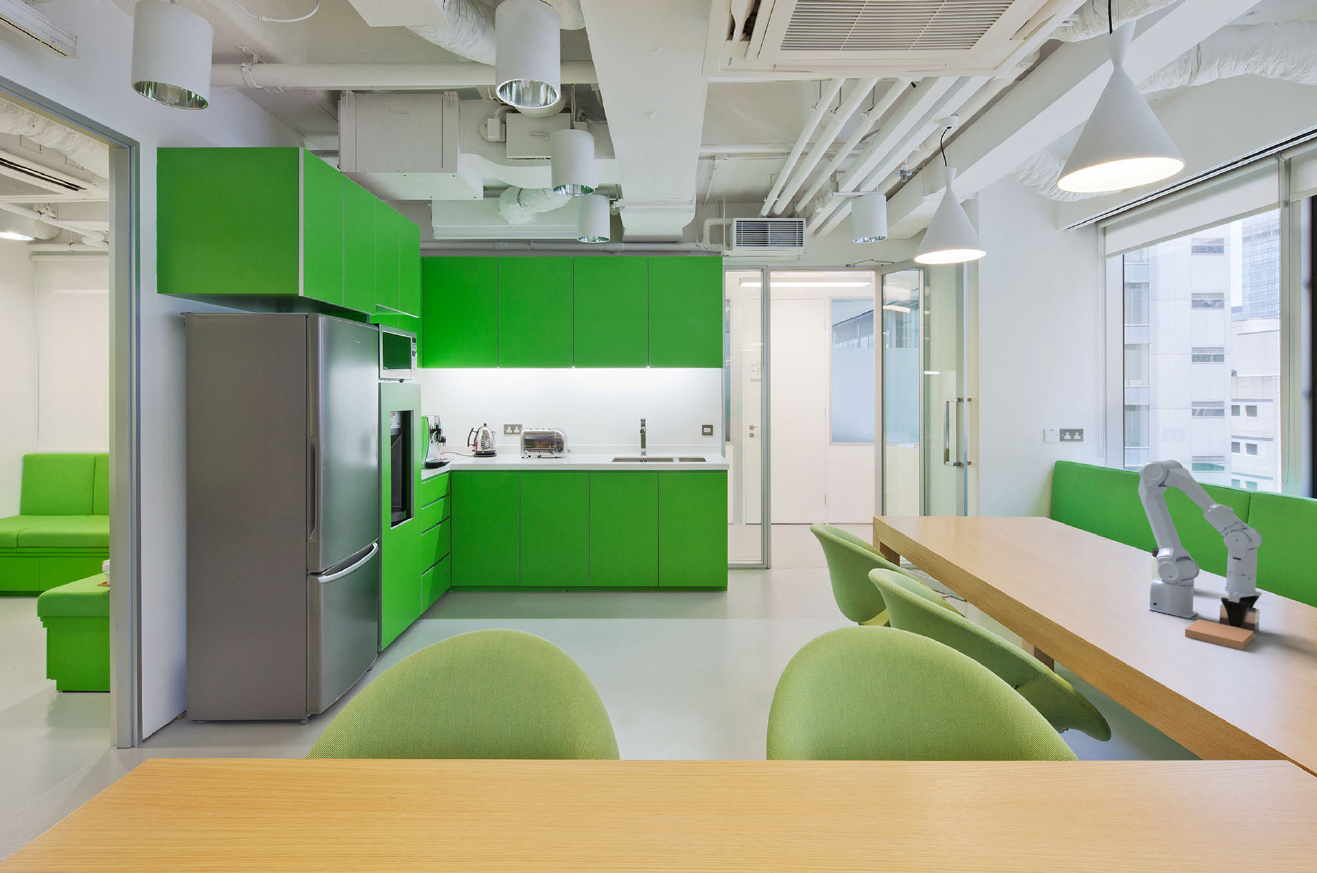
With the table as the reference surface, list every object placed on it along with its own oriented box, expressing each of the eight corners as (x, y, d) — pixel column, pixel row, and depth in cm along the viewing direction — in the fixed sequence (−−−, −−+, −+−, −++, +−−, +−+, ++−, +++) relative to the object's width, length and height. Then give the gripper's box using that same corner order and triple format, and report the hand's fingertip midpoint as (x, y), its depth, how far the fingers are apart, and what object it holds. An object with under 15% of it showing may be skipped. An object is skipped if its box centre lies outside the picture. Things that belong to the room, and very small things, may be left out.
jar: (1156, 588, 202) (1157, 552, 202) (1144, 581, 210) (1146, 546, 209) (1189, 590, 200) (1190, 553, 199) (1176, 583, 207) (1178, 548, 207)
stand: (1184, 636, 161) (1185, 629, 161) (1198, 626, 168) (1198, 619, 168) (1242, 650, 152) (1242, 642, 152) (1253, 638, 159) (1254, 631, 159)
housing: (1219, 627, 168) (1220, 604, 167) (1223, 624, 170) (1224, 601, 170) (1254, 635, 162) (1255, 611, 162) (1258, 631, 165) (1259, 608, 164)
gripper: (1255, 581, 158) (1252, 633, 158) (1268, 572, 166) (1265, 621, 167) (1219, 575, 163) (1216, 625, 164) (1233, 566, 172) (1230, 614, 173)
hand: (1239, 623), depth 166 cm, fingers open, 7 cm apart
